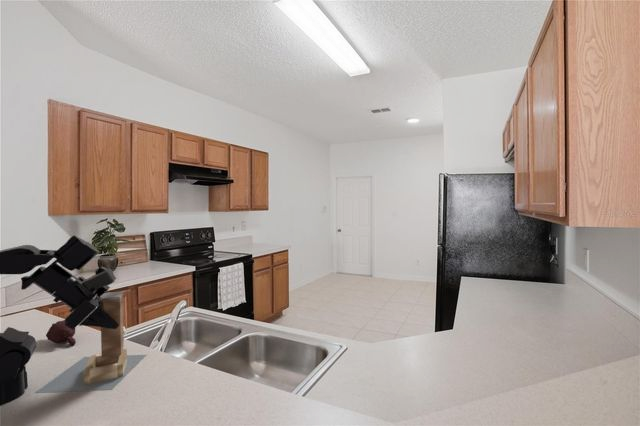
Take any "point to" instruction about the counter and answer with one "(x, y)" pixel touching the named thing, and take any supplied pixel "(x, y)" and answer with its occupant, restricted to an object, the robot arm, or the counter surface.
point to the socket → (104, 367)
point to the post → (110, 337)
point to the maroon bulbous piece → (61, 333)
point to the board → (75, 379)
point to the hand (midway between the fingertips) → (118, 323)
